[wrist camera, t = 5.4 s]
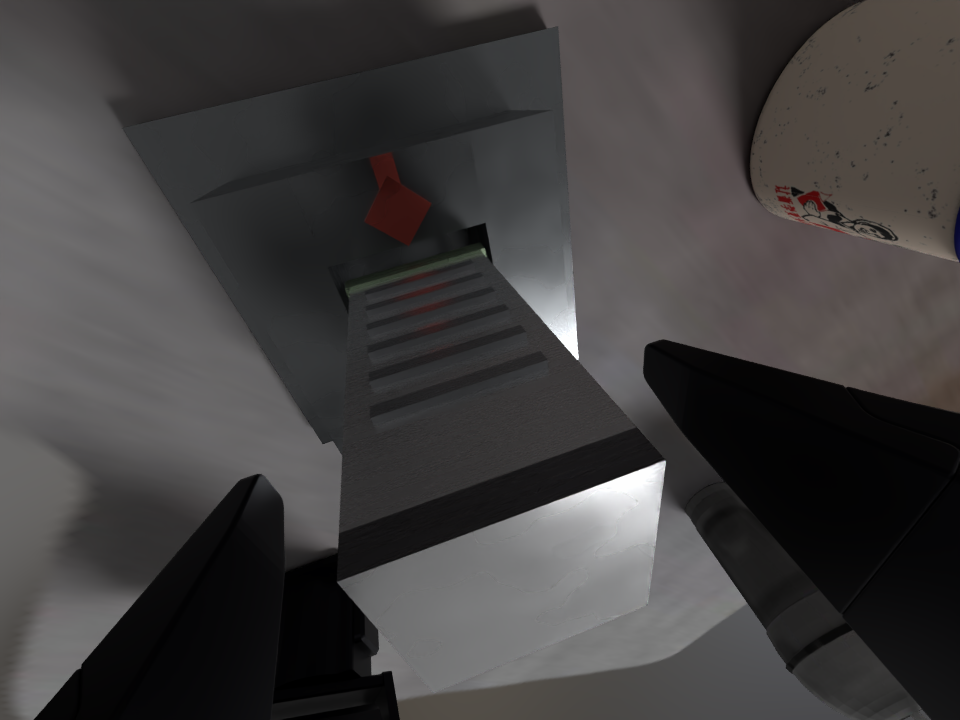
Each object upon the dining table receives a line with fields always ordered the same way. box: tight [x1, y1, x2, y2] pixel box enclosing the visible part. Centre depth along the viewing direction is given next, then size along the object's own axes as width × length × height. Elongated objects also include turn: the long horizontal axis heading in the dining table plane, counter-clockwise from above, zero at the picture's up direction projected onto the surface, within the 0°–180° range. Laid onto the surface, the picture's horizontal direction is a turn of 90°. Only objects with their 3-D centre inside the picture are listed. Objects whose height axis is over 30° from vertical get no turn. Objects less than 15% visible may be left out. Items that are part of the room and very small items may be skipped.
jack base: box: [123, 26, 578, 454], centre depth 15 cm, size 14×14×5 cm
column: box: [337, 242, 666, 693], centre depth 9 cm, size 4×4×9 cm
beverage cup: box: [686, 483, 927, 720], centre depth 27 cm, size 7×7×20 cm
